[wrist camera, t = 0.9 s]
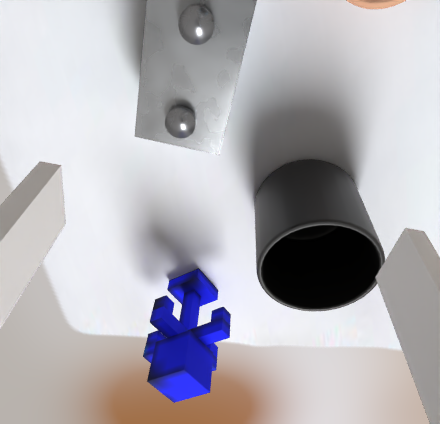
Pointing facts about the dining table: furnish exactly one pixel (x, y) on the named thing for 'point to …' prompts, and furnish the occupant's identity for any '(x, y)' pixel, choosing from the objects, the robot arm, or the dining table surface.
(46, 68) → the dining table surface
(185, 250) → the dining table surface
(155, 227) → the dining table surface
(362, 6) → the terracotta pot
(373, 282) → the mug
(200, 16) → the block
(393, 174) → the dining table surface
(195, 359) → the figurine
